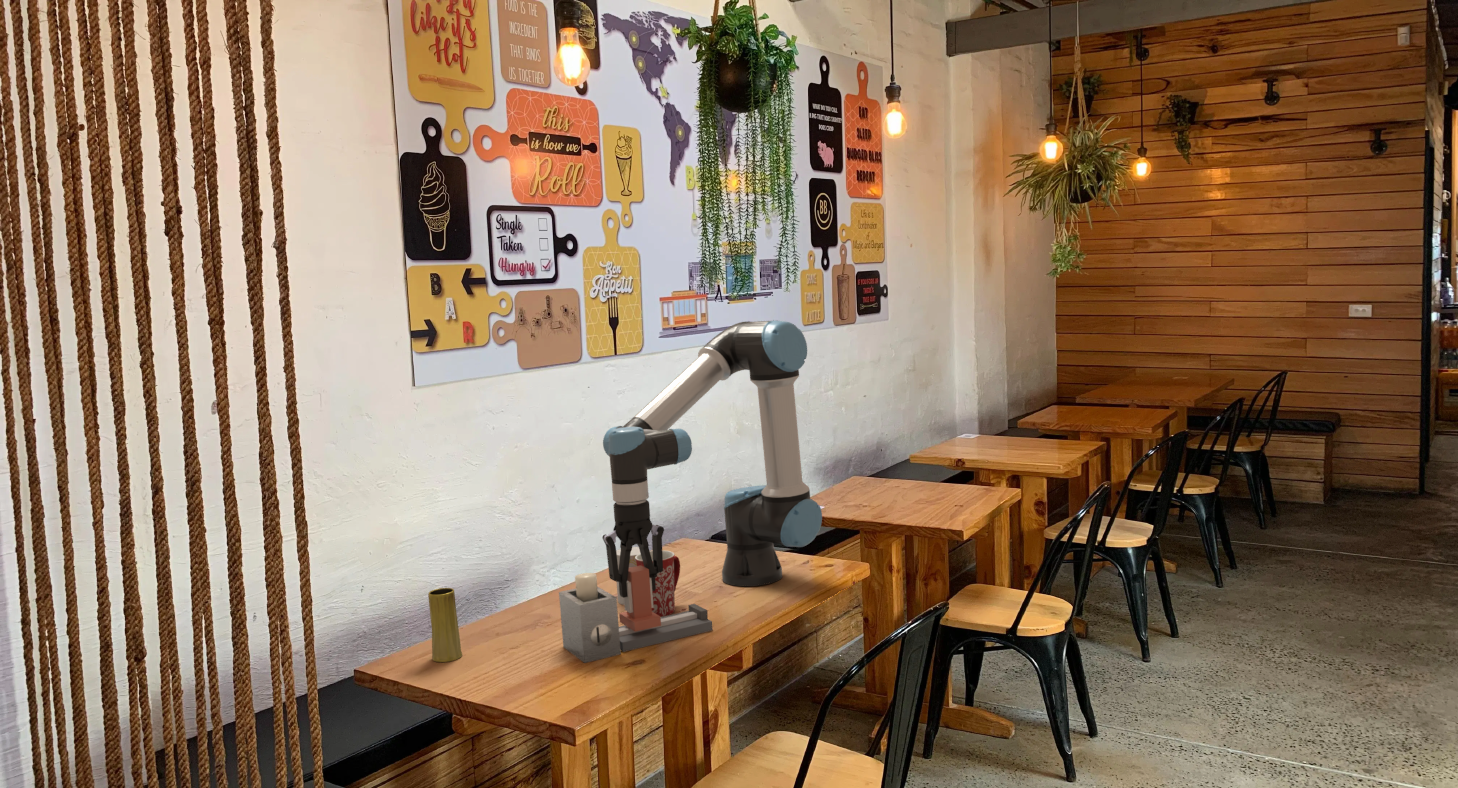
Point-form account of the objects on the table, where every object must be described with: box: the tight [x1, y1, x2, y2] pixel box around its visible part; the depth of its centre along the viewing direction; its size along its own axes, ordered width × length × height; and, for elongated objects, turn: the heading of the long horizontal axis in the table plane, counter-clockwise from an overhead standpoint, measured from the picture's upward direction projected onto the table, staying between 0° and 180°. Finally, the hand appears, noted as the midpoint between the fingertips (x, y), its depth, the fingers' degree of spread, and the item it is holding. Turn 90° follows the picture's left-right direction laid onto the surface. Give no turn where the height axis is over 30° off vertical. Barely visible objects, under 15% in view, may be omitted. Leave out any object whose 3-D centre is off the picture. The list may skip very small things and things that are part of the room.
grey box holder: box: [558, 586, 622, 664], centre depth 222 cm, size 8×13×12 cm, turn 29°
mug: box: [635, 549, 681, 617], centre depth 246 cm, size 13×9×14 cm
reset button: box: [574, 572, 598, 602], centre depth 221 cm, size 4×4×5 cm
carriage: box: [618, 565, 661, 632], centre depth 227 cm, size 6×8×12 cm
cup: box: [616, 546, 641, 606], centre depth 256 cm, size 8×8×12 cm
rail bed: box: [619, 603, 713, 653], centre depth 230 cm, size 21×10×4 cm, turn 119°
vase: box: [427, 587, 463, 663], centre depth 223 cm, size 6×6×14 cm
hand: (639, 608), depth 227 cm, fingers closed on carriage, 4 cm apart
